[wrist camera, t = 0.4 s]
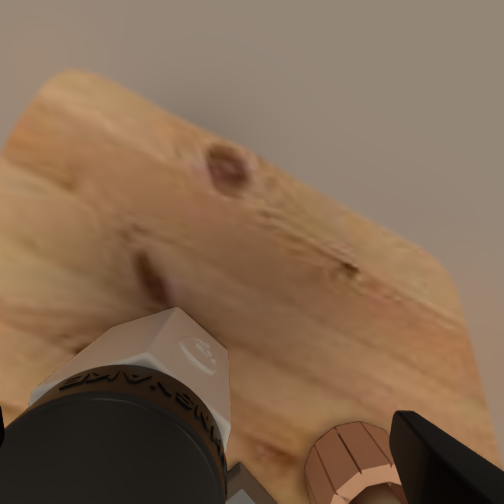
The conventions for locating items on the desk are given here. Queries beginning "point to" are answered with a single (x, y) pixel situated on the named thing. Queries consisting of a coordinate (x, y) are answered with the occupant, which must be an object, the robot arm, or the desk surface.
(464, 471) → the robot arm
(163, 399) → the jar
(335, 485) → the cup
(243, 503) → the tray
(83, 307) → the desk surface
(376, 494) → the dowel
